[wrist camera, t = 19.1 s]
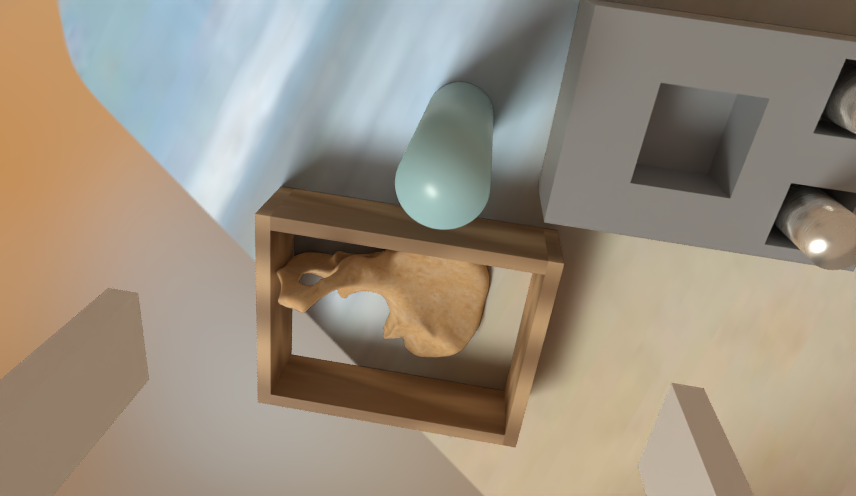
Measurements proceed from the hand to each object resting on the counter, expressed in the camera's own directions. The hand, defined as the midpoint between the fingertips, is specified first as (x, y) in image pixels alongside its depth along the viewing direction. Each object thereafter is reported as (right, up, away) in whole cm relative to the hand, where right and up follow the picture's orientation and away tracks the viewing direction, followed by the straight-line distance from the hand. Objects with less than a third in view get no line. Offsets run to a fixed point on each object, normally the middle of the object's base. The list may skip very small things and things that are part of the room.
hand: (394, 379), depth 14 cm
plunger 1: (+23, +6, +21) cm, 31 cm away
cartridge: (+3, +12, +24) cm, 27 cm away
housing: (+18, +11, +22) cm, 31 cm away
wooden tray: (-1, -1, +31) cm, 31 cm away
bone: (-1, +2, +30) cm, 30 cm away
